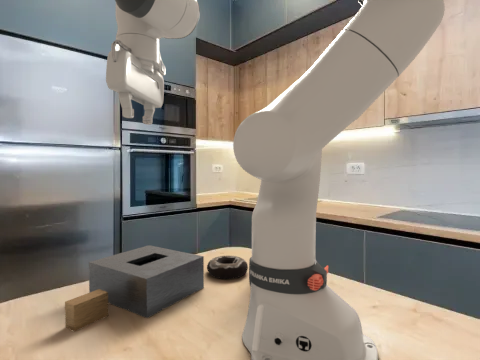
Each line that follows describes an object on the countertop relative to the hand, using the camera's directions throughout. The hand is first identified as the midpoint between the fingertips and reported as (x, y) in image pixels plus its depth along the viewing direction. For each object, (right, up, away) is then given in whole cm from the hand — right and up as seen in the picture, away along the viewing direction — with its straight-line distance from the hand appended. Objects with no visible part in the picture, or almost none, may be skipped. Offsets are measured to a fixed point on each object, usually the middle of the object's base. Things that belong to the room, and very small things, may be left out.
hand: (138, 121), depth 65 cm
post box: (0, -40, +8) cm, 41 cm away
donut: (+18, -40, +21) cm, 49 cm away
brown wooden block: (-8, -41, -6) cm, 42 cm away
